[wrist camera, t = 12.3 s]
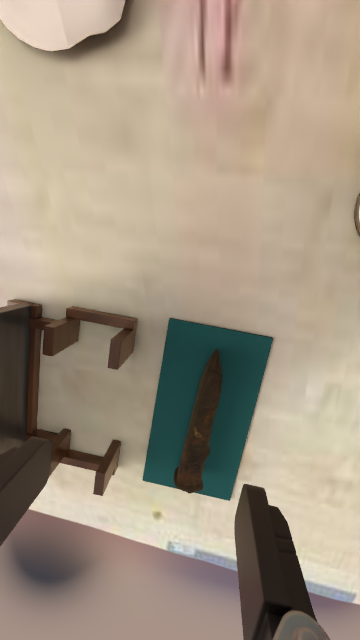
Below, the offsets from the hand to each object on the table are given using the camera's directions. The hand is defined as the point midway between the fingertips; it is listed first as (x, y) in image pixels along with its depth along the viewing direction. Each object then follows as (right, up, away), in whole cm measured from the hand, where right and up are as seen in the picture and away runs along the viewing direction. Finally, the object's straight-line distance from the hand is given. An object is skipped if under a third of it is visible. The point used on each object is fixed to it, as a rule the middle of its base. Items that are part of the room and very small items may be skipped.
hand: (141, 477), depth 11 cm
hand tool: (+4, -6, +25) cm, 26 cm away
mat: (+5, -7, +25) cm, 26 cm away
